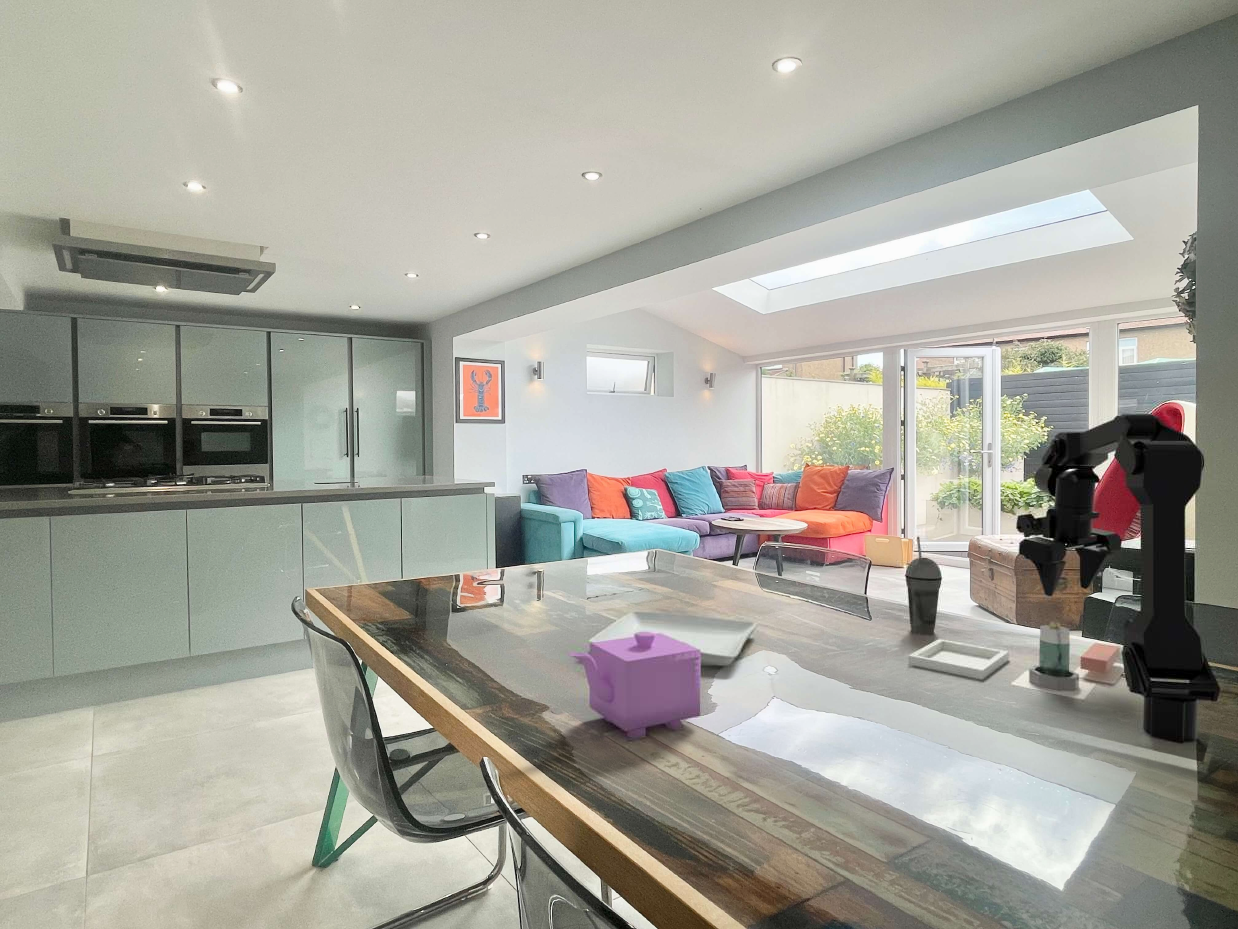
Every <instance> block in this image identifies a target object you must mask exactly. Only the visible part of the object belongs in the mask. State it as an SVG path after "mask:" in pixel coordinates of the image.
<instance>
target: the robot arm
mask: <svg viewBox="0 0 1238 929" xmlns="http://www.w3.org/2000/svg"><path fill="white" fill-rule="evenodd" d="M1111 453H1114V454H1113V456H1114V458H1115V460H1116V461H1117V463H1118V465H1119V466H1120V467H1121V469H1122V470H1123V472H1124V475H1125V484H1126V488H1127V489H1128V490H1129V492H1130V493H1131V495H1132V496H1133V497H1134V499H1135V500H1136V501H1137V503H1138V504H1139V505H1140V506H1139V507H1140V610H1139V612H1138V613H1137V614H1136V615H1135V617H1134V618H1133V619H1126V620H1125V623H1124V624H1123V631H1124V642H1123V645H1122V646H1123V647H1122V650H1121V657H1122V664H1123V665H1124V671H1123V673H1124V676H1125V677H1124V678H1125V682H1126V686H1127V688H1128V691H1129V692H1130V693H1132V694H1136V695H1140V696H1142V697H1143V715H1142V716H1143V717H1142V730H1143V731H1144V732H1145V733H1147V734H1149V735H1150V737H1151V738H1155V739H1159V740H1164V741H1167V742H1168V741H1169V742H1172V743H1177V744H1182V745H1183V744H1184V743H1193V742H1196V741H1197V740H1198V710H1199V705H1198V704H1199V701H1211V702H1217V701H1218V699H1219V695H1220V692H1221V687H1220V684H1219V683H1218V681H1217V679H1216V677H1215V675H1214V672H1213V670H1212V669H1211V666H1210V664H1209V662H1208V660H1207V658H1206V655H1205V653H1204V651H1203V644H1202V637H1201V636H1200V634H1199V632H1198V630H1197V629H1196V628H1195V627H1194V625H1193V624H1192V622H1191V621H1190V620H1189V618H1188V616H1187V613H1186V610H1187V608H1186V508H1187V505H1188V503H1189V502H1190V501H1191V500H1192V499H1193V497H1194V496H1195V494H1197V492H1198V491H1199V490H1200V488H1201V485H1202V476H1203V474H1202V473H1203V470H1204V467H1205V457H1204V454H1203V452H1202V451H1201V450H1200V448H1199V447H1198V446H1197V445H1196V444H1195V442H1193V440H1191V438H1190V437H1189V436H1188V435H1187V434H1185V433H1184V432H1181V431H1179V430H1177V429H1175V428H1173V427H1171V426H1169V425H1168V424H1165V423H1164V422H1163V420H1162V419H1161V418H1160V417H1159V416H1158V415H1154V414H1152V413H1121V414H1120V415H1116V416H1115V417H1114V418H1113V419H1111V420H1109V421H1106V422H1103V423H1102V424H1099V425H1097V426H1093V427H1092V428H1089V429H1087V430H1085V431H1084V430H1083V431H1060V432H1058V433H1057V434H1056V435H1055V436H1054V438H1053V439H1052V440H1051V442H1050V444H1049V447H1048V448H1047V449H1046V452H1045V453H1044V454H1043V455H1042V458H1041V466H1040V467H1039V468H1038V470H1036V472H1035V474H1034V478H1033V480H1034V485H1035V486H1036V488H1037V489H1038V490H1039V491H1041V492H1043V493H1045V494H1047V495H1049V496H1051V497H1053V498H1054V507H1051V508H1048V509H1047V510H1046V513H1045V514H1046V515H1045V516H1041V517H1036V518H1035V516H1034V515H1033V514H1032V513H1026V514H1021V515H1017V519H1016V527H1015V528H1016V530H1017V531H1018V532H1019V533H1020V534H1023V537H1024V538H1023V539H1022V540H1021V541H1020V542H1019V544H1018V554H1019V555H1021V556H1024V558H1025V559H1026V560H1029V561H1030V562H1031V563H1032V564H1033V565H1034V566H1035V568H1036V570H1037V573H1038V576H1039V580H1040V582H1041V586H1042V589H1043V592H1044V595H1045V596H1048V597H1053V595H1054V593H1055V591H1056V589H1057V587H1058V584H1059V581H1060V579H1061V576H1062V573H1063V570H1064V569H1065V566H1066V563H1067V561H1065V560H1064V558H1065V557H1066V556H1067V551H1071V550H1075V551H1076V553H1077V555H1078V556H1079V582H1080V584H1079V585H1080V588H1081V589H1084V590H1087V589H1089V588H1090V586H1091V585H1092V584H1093V582H1094V581H1095V579H1096V577H1097V576H1098V575H1099V574H1100V573H1101V571H1102V569H1103V568H1105V566H1106V565H1107V564H1108V562H1109V561H1110V560H1111V559H1112V557H1114V556H1115V555H1116V553H1117V552H1116V551H1120V550H1122V543H1123V542H1122V540H1123V539H1122V537H1120V535H1119V534H1118V533H1117V532H1114V531H1107V530H1104V529H1099V528H1094V527H1093V520H1095V519H1099V516H1100V512H1099V511H1094V504H1095V494H1096V484H1100V482H1101V479H1100V477H1099V475H1098V474H1097V473H1096V472H1095V471H1094V470H1095V468H1096V467H1098V466H1100V465H1102V464H1103V463H1105V462H1106V461H1107V460H1109V454H1111ZM1031 536H1033V537H1031ZM1151 679H1156V680H1151ZM1157 679H1158V680H1157ZM1161 680H1165V681H1161ZM1166 680H1176V681H1166ZM1177 680H1178V681H1177ZM1179 681H1180V682H1179ZM1181 681H1183V682H1181ZM1184 681H1188V682H1184Z"/></svg>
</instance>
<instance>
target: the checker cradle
mask: <svg viewBox="0 0 1238 929" xmlns="http://www.w3.org/2000/svg"><path fill="white" fill-rule="evenodd" d="M1080 667H1081V664H1080V665H1079V666H1078V667H1077V668H1076V669H1075V670H1074V671H1073V670H1071V669H1069V677H1055V676H1050V675H1045V674H1041V673H1039V665H1033V666H1031V667H1030V668H1029V670H1026V671H1025V672H1023V673H1022V674H1021V675H1020V676H1018V677H1017V678H1016V679H1015V680H1013V681H1012V682H1011V683H1010V684H1009V685H1010V686H1014V687H1019V688H1023V689H1024V688H1025V689H1029V690H1034V691H1038V692H1045V693H1048V694H1053V695H1058V696H1063V697H1068V698H1072V699H1076V700H1083V701H1084V700H1085V699H1086V698H1087V697H1088V695H1089V694H1090V693H1091V692H1092V690H1093V689H1094V688H1096V686H1097V683H1093V682H1088V681H1084V680H1079V679H1086V680H1090V681H1096V682H1101V683H1106V684H1111V685H1114V684H1116V682H1117V681H1118V680H1119V678H1120V677H1121V676H1122V675H1123V673H1124V665H1123V663H1118V662H1115V663H1114V665H1113V666H1112V667H1111V668H1110V670H1109V671H1108V672H1107V673H1101V672H1096V671H1091V670H1085V669H1080Z"/></svg>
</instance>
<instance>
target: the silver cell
mask: <svg viewBox="0 0 1238 929" xmlns="http://www.w3.org/2000/svg"><path fill="white" fill-rule="evenodd" d="M1039 632H1040V633H1039V634H1040V635H1039V656H1038V657H1039V660H1038V661H1039V662H1038V666H1039V673H1041V674H1045V675H1050V676H1055V677H1069V670H1070V647H1071V645H1070V644H1071V642H1070V632H1071V631H1070V629H1069V628H1067V627H1064V626H1061V623H1059V622H1056V621H1055V622H1054V621H1050V622H1049V624H1043V625H1040V628H1039Z"/></svg>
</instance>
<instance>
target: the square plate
mask: <svg viewBox="0 0 1238 929" xmlns="http://www.w3.org/2000/svg"><path fill="white" fill-rule="evenodd" d="M758 625H759V624H758V623H757V622H754V621H747V620H746V621H745V620H736V619H730V618H729V619H728V618H727V619H726V618H720V617H713V616H704V615H695V614H687V613H686V614H683V613H672V612H671V613H670V612H669V613H668V612H656V611H655V612H652V611H651V612H650V611H638V610H637V611H636V610H634V611H630V612H628V613H627V614H625V615H624V616H621V617H620V618H619V619H617V620H616V621H614V622H613V623H611V624H610V625H608V626H607V627H605V628H603V629H602V630H600V632H598V633H597V634H596V635H594V636H593V637H591V638H590V639H588V641H587V642H588V643H589V645H590V644H591V643H594V642H601V641H607V640H614V639H621V638H628V637H635V636H634V634H635V633H637V632H651V633H654V634H656V633H661V634H664V635H666V636H669V637H671V638H674V639H676V640H678V641H681V642H685V643H687V644H689V645H690V646H693V647H695V648H697V649H700V651H701V666H702V667H703V666H704V667H706V666H707V667H708V666H709V667H711V666H713V667H714V666H717V667H718V666H719V667H725V666H728V665H731V664H732V663H733V661H734V660H735V659H736V658H737V657H738V656H739V654H740V653H741V650H742V649H743V646H744V644H745V643H746V642H747V640H748V639H749V638H750V637H751V635H752V634H753V633H754V632H755V630H756V629H757V628H758ZM701 666H700V667H701Z"/></svg>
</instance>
